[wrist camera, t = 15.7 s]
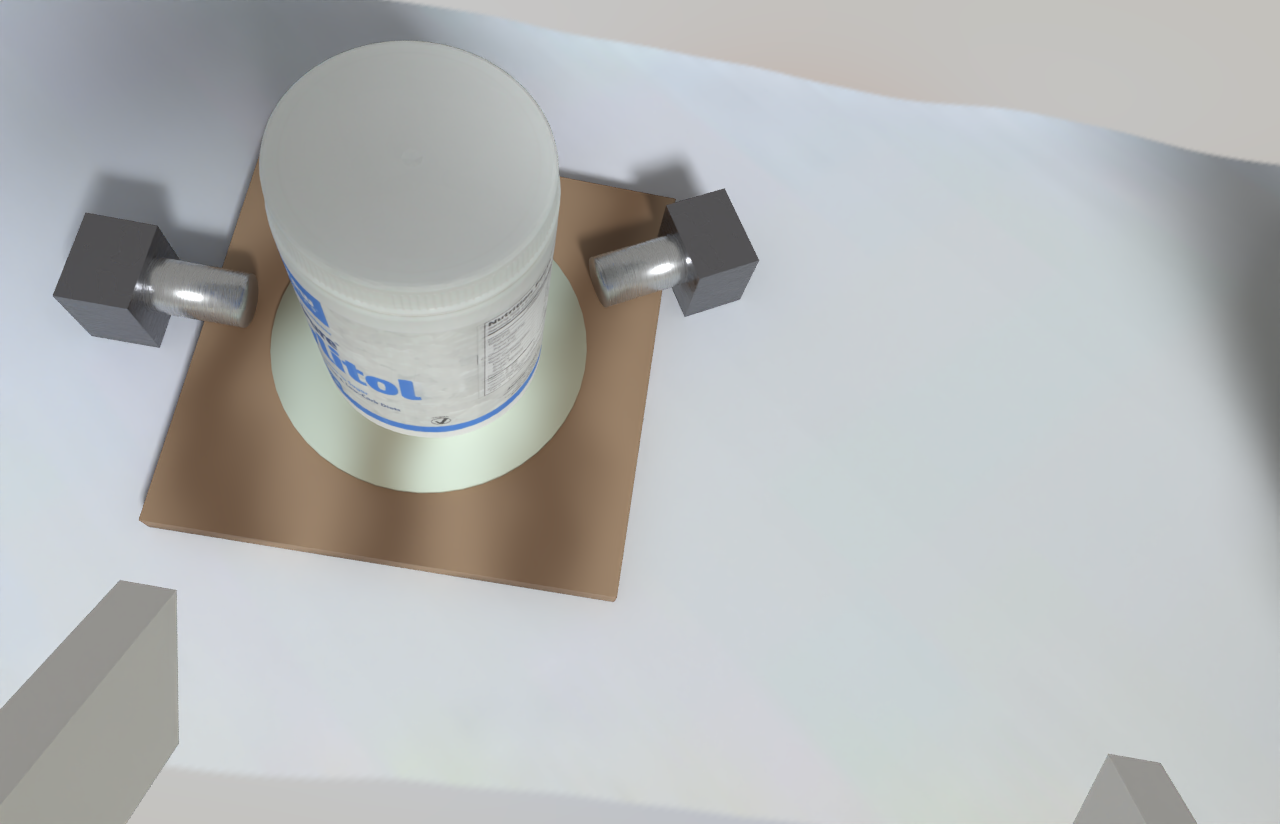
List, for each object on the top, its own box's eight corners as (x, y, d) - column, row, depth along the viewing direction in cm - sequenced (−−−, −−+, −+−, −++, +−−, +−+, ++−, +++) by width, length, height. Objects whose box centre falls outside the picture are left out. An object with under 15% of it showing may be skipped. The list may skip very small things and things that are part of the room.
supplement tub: (285, 385, 43) (180, 203, 29) (396, 218, 46) (348, -14, 32) (484, 482, 42) (473, 346, 29) (580, 307, 46) (612, 110, 32)
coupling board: (671, 211, 50) (676, 195, 48) (613, 601, 43) (617, 596, 41) (276, 136, 48) (269, 117, 47) (148, 526, 41) (136, 518, 40)
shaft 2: (609, 340, 47) (617, 304, 43) (579, 270, 48) (585, 228, 44) (740, 299, 49) (759, 260, 45) (708, 231, 50) (724, 188, 46)
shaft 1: (273, 285, 46) (252, 243, 42) (249, 363, 44) (225, 326, 41) (120, 258, 45) (85, 212, 42) (91, 335, 44) (52, 295, 40)
